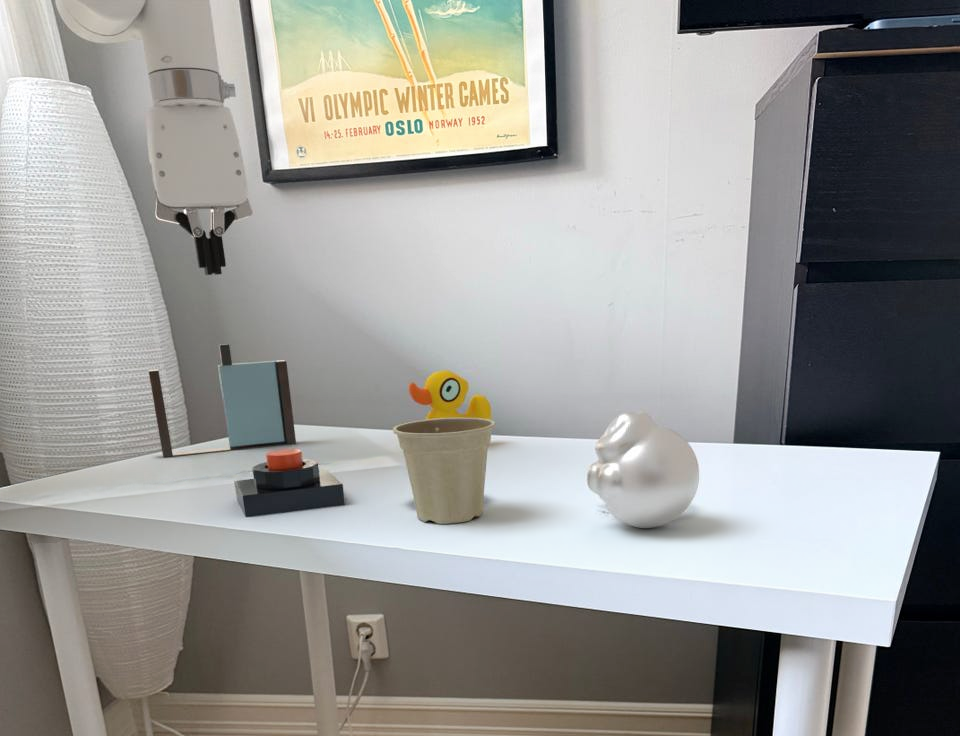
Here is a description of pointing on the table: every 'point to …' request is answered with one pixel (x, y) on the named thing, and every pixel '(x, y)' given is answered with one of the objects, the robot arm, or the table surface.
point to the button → (284, 459)
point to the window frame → (284, 406)
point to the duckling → (449, 397)
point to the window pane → (250, 401)
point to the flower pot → (446, 466)
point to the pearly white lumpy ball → (643, 471)
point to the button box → (288, 490)
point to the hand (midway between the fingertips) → (213, 274)
